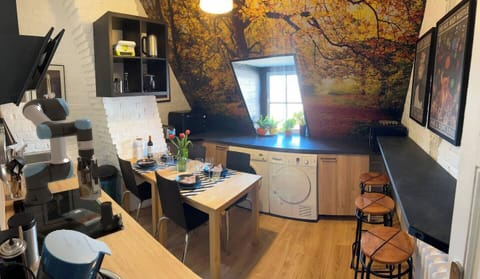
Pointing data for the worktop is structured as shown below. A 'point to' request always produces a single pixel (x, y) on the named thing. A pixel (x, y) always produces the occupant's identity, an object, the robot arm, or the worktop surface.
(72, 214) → the block
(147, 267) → the worktop surface
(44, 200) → the robot arm
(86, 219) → the panel
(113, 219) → the scope
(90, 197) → the coffee box
